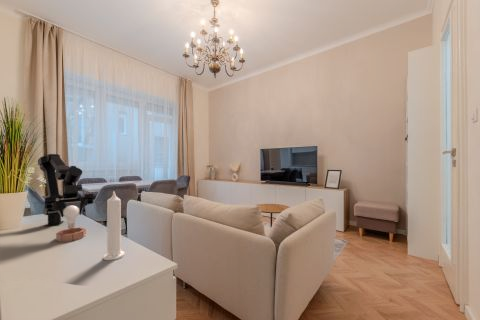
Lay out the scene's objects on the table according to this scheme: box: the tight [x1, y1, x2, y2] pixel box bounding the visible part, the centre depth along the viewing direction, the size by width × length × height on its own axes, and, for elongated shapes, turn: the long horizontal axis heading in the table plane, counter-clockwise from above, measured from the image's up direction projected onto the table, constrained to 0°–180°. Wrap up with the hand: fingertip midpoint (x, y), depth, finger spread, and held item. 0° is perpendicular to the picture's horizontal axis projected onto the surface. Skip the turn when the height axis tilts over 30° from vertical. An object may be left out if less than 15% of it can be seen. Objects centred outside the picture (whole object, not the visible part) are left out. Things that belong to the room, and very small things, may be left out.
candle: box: [103, 190, 125, 261], centre depth 84 cm, size 7×7×25 cm
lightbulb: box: [63, 204, 80, 229], centre depth 104 cm, size 6×6×11 cm
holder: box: [55, 226, 87, 243], centre depth 104 cm, size 10×10×3 cm
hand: (71, 215), depth 103 cm, fingers closed on lightbulb, 6 cm apart
